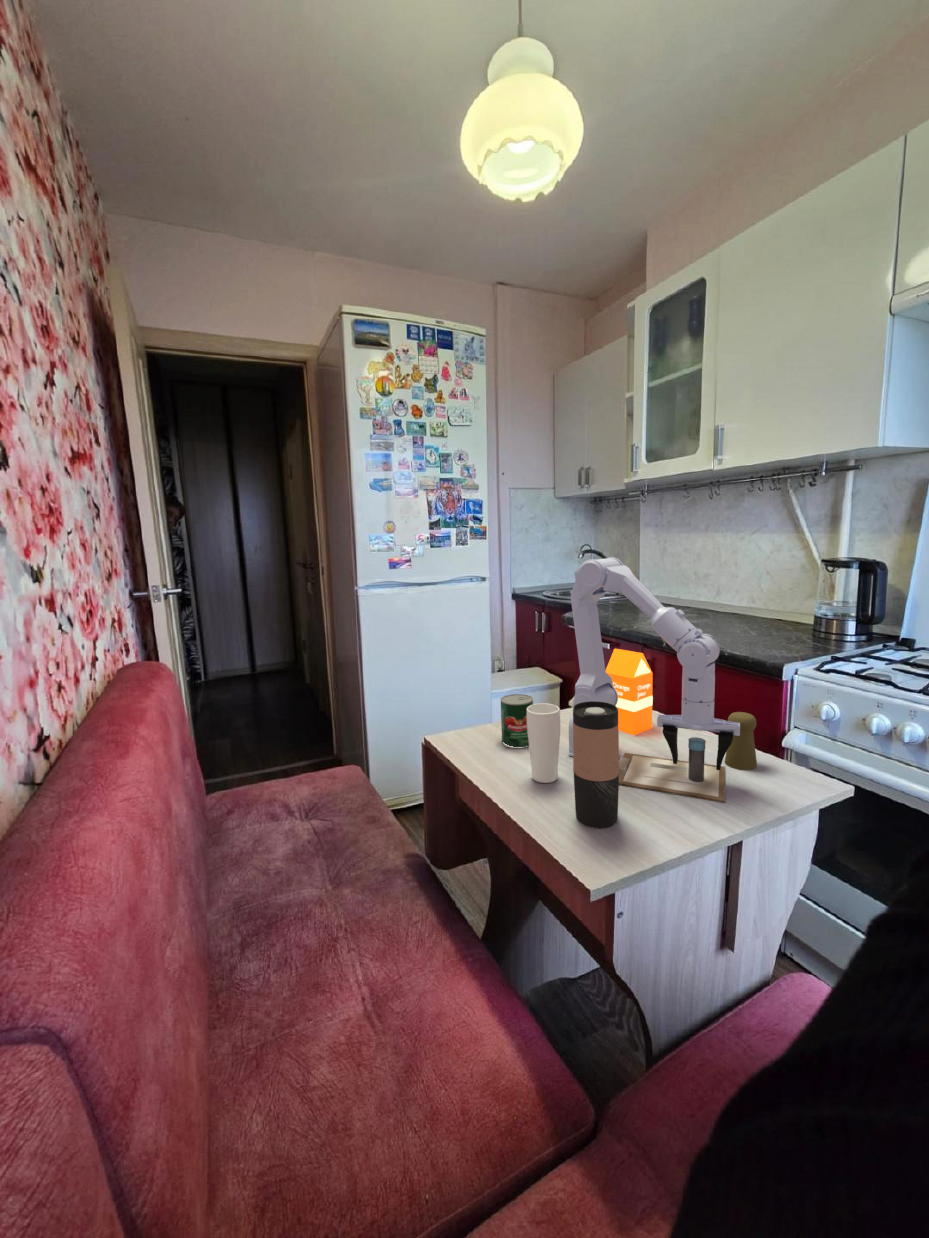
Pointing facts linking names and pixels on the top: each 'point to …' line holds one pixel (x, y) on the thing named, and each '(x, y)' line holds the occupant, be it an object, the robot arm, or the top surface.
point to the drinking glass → (543, 741)
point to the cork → (742, 743)
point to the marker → (696, 759)
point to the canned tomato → (515, 719)
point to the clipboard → (670, 777)
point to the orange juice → (632, 690)
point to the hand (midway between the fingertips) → (696, 764)
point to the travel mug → (596, 763)
